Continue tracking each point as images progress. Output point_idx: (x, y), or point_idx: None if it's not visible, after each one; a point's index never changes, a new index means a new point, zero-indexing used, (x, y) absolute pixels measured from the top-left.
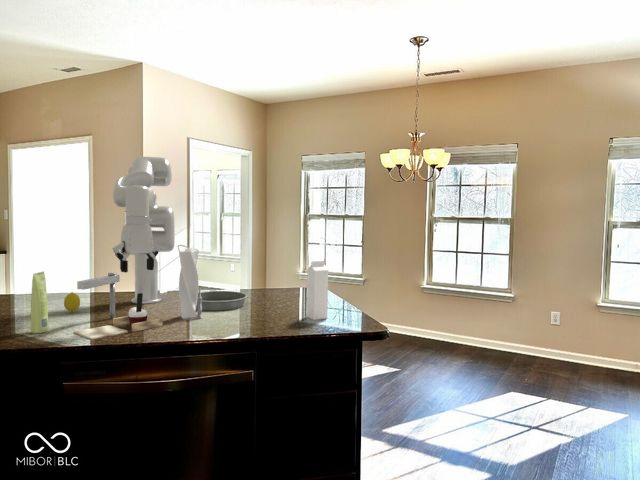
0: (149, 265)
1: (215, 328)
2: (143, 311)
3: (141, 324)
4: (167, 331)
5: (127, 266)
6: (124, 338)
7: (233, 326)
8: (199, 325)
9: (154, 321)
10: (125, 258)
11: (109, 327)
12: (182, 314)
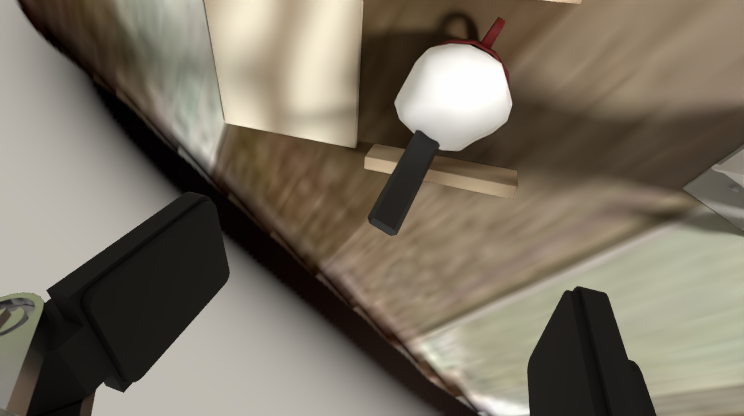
0: (547, 391)
1: None
2: (458, 141)
3: None
4: (449, 249)
5: (186, 323)
6: (307, 194)
7: None
8: None
9: (468, 187)
10: (72, 407)
11: (336, 25)
12: (730, 174)
